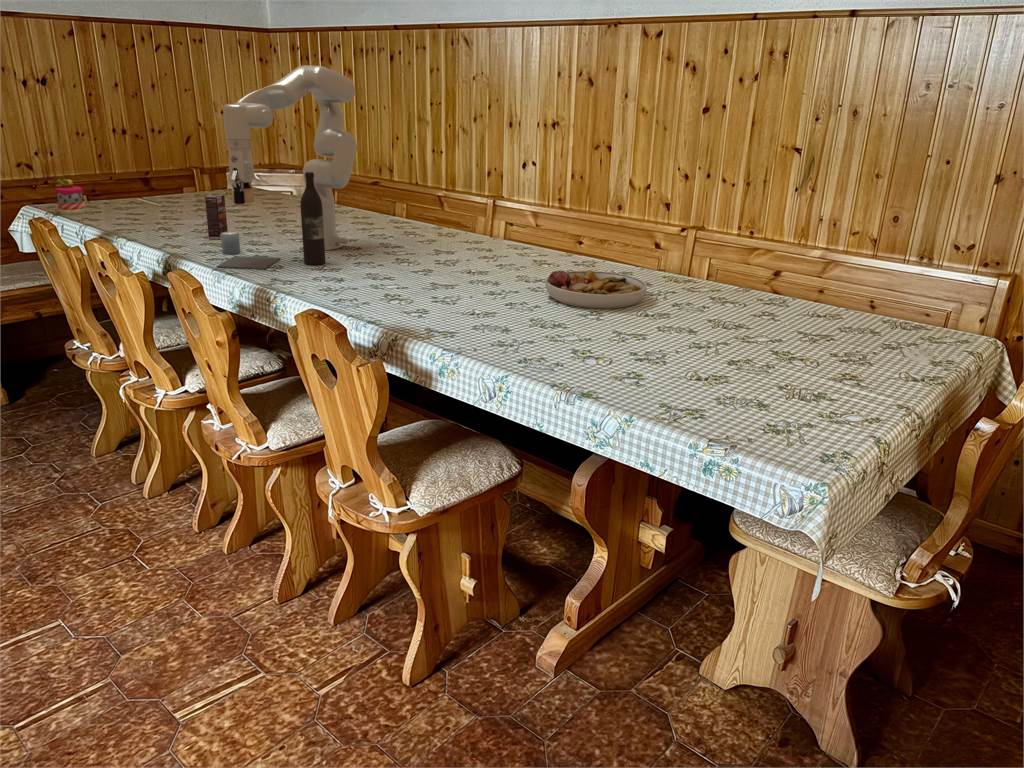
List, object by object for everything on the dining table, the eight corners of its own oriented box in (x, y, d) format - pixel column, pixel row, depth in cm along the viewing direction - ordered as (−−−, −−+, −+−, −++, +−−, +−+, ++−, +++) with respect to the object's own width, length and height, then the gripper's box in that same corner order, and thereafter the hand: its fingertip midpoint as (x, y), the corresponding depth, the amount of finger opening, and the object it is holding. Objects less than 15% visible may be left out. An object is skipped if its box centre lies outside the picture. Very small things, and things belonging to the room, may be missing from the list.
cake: (61, 211, 349) (55, 176, 343) (88, 211, 352) (82, 176, 346) (56, 215, 339) (50, 179, 334) (83, 215, 342) (78, 179, 337)
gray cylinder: (243, 251, 282) (241, 231, 279) (236, 254, 276) (235, 234, 274) (226, 250, 282) (224, 231, 279) (220, 254, 276) (217, 234, 274)
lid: (257, 200, 259) (255, 188, 258) (250, 203, 253) (249, 190, 252) (237, 199, 260) (236, 187, 258) (229, 202, 253) (228, 189, 252)
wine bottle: (304, 265, 263) (298, 173, 252) (303, 261, 269) (297, 171, 259) (326, 265, 265) (320, 173, 254) (325, 260, 271) (319, 171, 261)
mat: (280, 259, 271) (280, 257, 271) (265, 269, 256) (265, 267, 256) (234, 257, 272) (234, 256, 271) (216, 267, 257) (216, 266, 256)
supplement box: (220, 239, 301) (216, 197, 295) (208, 239, 301) (203, 196, 295) (229, 235, 309) (224, 194, 303) (216, 235, 309) (212, 193, 303)
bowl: (635, 287, 250) (637, 262, 247) (654, 313, 222) (657, 286, 219) (541, 285, 249) (542, 260, 246) (548, 311, 221) (550, 283, 218)
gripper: (240, 147, 242) (245, 206, 248) (259, 143, 258) (263, 199, 265) (216, 146, 242) (222, 205, 249) (236, 142, 258) (241, 198, 265)
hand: (243, 201), depth 257 cm, fingers closed on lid, 6 cm apart
